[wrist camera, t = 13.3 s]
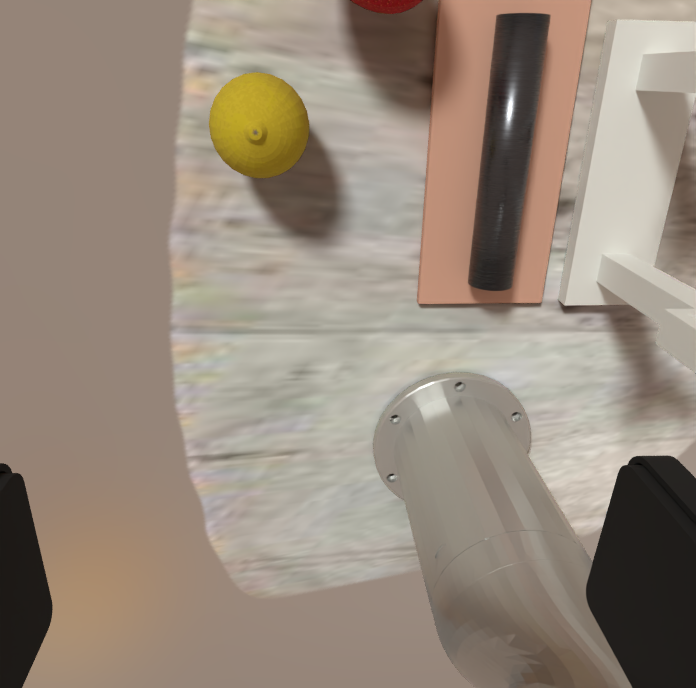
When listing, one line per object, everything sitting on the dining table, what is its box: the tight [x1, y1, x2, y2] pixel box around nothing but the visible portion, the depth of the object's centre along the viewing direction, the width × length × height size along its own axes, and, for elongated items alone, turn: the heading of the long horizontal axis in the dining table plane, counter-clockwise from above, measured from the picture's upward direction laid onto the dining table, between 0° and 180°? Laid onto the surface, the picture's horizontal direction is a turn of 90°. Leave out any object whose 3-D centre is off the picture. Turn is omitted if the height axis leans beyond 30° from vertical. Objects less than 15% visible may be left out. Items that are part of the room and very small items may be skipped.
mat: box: [417, 0, 591, 304], centre depth 38 cm, size 20×9×1 cm, turn 179°
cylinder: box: [468, 13, 551, 291], centre depth 37 cm, size 16×3×3 cm, turn 179°
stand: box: [558, 19, 696, 374], centre depth 33 cm, size 18×6×16 cm, turn 179°
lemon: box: [209, 72, 309, 178], centre depth 33 cm, size 6×6×8 cm
